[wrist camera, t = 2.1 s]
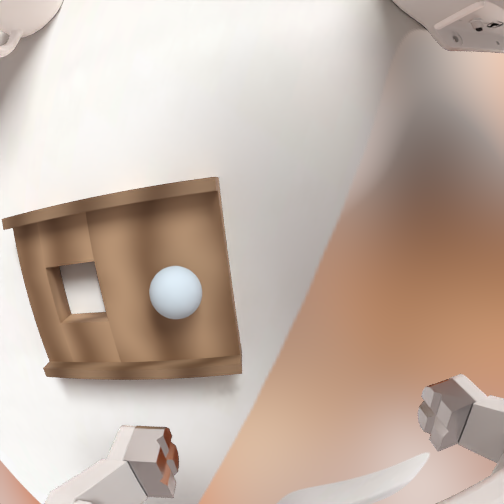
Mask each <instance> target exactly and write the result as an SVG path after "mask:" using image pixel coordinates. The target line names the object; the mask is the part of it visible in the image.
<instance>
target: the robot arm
mask: <svg viewBox="0 0 504 504" xmlns="http://www.w3.org/2000/svg"><path fill="white" fill-rule="evenodd" d="M392 1H393V2H394V3H395V4H396V5H398V6H399V7H400V8H401V9H402V10H403V11H404V12H406V13H407V14H408V15H410V16H411V17H412V18H414V19H415V20H417V21H418V22H419V23H421V24H422V25H423V26H424V27H425V28H426V29H427V30H428V31H429V32H430V34H431V35H432V36H433V37H434V39H435V40H436V41H437V42H438V44H439V45H440V46H442V47H443V48H444V49H446V50H448V51H478V52H495V53H504V0H392ZM454 40H455V41H454ZM422 398H423V400H424V401H423V402H422V404H421V405H420V406H419V410H418V421H419V424H420V427H421V428H422V430H423V431H424V432H427V433H429V434H430V439H429V440H430V441H431V443H432V444H433V445H434V447H435V448H436V450H437V451H441V450H443V449H446V448H448V447H450V446H453V445H455V444H459V445H460V446H462V447H464V448H466V449H468V450H471V451H473V452H475V453H477V454H479V455H481V456H483V457H485V458H487V459H490V460H492V461H494V462H496V463H497V465H496V467H495V469H494V470H493V472H492V474H491V475H490V476H489V477H487V478H485V479H484V480H482V481H480V482H478V483H477V484H475V485H473V486H471V487H469V488H467V489H465V490H463V491H461V492H460V493H457V494H455V495H453V496H451V497H449V498H447V499H445V500H443V501H441V502H438V503H436V504H504V399H503V398H499V397H495V396H488V397H487V396H486V395H485V394H484V393H483V392H482V391H481V390H480V389H479V388H478V387H477V386H476V385H475V384H473V383H472V382H471V381H470V380H469V379H468V378H467V377H466V376H465V375H463V374H459V375H457V376H454V377H451V378H449V379H446V380H444V381H441V382H438V383H436V384H432V385H429V386H427V387H425V388H424V390H423V392H422ZM171 438H172V435H171V432H170V430H169V428H167V427H149V426H127V425H122V426H121V427H120V428H119V430H118V433H117V435H116V437H115V440H114V442H113V444H112V447H111V449H110V452H109V454H108V456H107V459H101V460H100V461H98V462H97V463H95V464H93V465H92V466H90V467H89V468H87V469H86V470H84V471H83V472H81V473H80V474H78V475H76V476H75V477H73V478H72V479H70V480H68V481H67V482H65V483H64V484H62V485H60V486H59V487H57V488H55V489H54V490H52V491H50V493H49V495H48V497H47V499H46V501H45V503H44V504H142V503H143V502H144V501H145V500H146V499H147V497H167V498H174V492H175V486H176V481H175V478H174V475H175V474H176V473H177V472H178V468H179V456H178V451H177V448H176V445H174V444H173V443H172V442H171Z"/></svg>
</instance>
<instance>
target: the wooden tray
mask: <svg viewBox="0 0 504 504" xmlns="http://www.w3.org/2000/svg"><path fill="white" fill-rule="evenodd" d="M2 223H3V229H4V230H5V229H10V228H13V231H14V237H15V242H16V247H17V252H18V257H19V262H20V266H21V270H22V275H23V279H24V283H25V287H26V290H27V294H28V298H29V301H30V305H31V308H32V311H33V315H34V318H35V321H36V324H37V327H38V330H39V333H40V336H41V339H42V342H43V345H44V347H45V350H46V353H47V355H48V358H49V361H50V362H49V363H48V364H47V365H46V366H45V367H44V368H43V369H44V371H45V374H46V376H47V377H59V378H77V379H111V380H139V379H174V378H193V377H208V376H220V375H232V374H242V351H241V344H240V337H239V330H238V323H237V316H236V309H235V302H234V295H233V288H232V281H231V273H230V266H229V258H228V251H227V243H226V235H225V228H224V220H223V212H222V204H221V195H220V187H219V179H218V177H210V178H202V179H195V180H188V181H182V182H175V183H169V184H162V185H156V186H150V187H144V188H139V189H133V190H128V191H122V192H117V193H112V194H107V195H102V196H97V197H92V198H87V199H82V200H78V201H73V202H69V203H64V204H60V205H55V206H51V207H47V208H43V209H39V210H35V211H31V212H27V213H23V214H19V215H15V216H12V217H8V218H4V219H2ZM93 261H94V263H95V267H96V272H97V277H98V281H99V285H100V290H101V294H102V298H103V302H104V306H105V310H106V312H98V313H82V314H71V311H70V308H69V304H68V301H67V297H66V293H65V289H64V285H63V281H62V277H61V273H60V268H59V266H63V265H70V264H78V263H86V262H93ZM170 266H181V267H184V268H187V269H189V270H190V271H192V272H193V273H194V274H195V275H196V276H197V278H198V279H199V281H200V284H201V287H202V299H201V303H200V305H199V307H198V308H197V310H196V311H195V312H194V313H193V314H191V315H190V316H188V317H186V318H183V319H170V318H167V317H164V316H163V315H161V314H160V313H158V312H157V311H156V309H155V308H154V307H153V305H152V303H151V300H150V295H149V289H150V284H151V282H152V280H153V278H154V276H155V275H156V274H157V273H158V272H159V271H161V270H162V269H164V268H166V267H170Z"/></svg>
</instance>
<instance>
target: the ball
mask: <svg viewBox="0 0 504 504" xmlns="http://www.w3.org/2000/svg"><path fill="white" fill-rule="evenodd" d="M149 295H150V300H151V303H152V305H153V307H154V308H155V309H156V311H157V312H158V313H160V314H161V315H163V316H164V317H167V318H170V319H183V318H186V317H188V316H190V315H191V314H193V313H194V312H195V311H196V310H197V308H198V307H199V305H200V303H201V299H202V287H201V284H200V281H199V279H198V278H197V276H196V275H195V274H194V273H193V272H192V271H190V270H189V269H187V268H184V267H181V266H170V267H166V268H164V269H162V270H161V271H159V272H158V273H157V274H156V275H155V276H154V278H153V280H152V282H151V284H150V289H149Z"/></svg>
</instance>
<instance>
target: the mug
mask: <svg viewBox="0 0 504 504" xmlns="http://www.w3.org/2000/svg"><path fill="white" fill-rule="evenodd" d="M62 2H63V0H0V30H1V31H3V32H4V33H6V34H8V35H9V38H8V41H7V43H6V44H5V45H3V46H0V57H4V56H6V55H8V54H9V53H11V52H12V51H13V50H14V48H15V47H16V46H17V44H18V42H19V40H20V38H22V37H27V36H29V35H32V34H34V33H35V32H37V31H38V30H40V29H41V28H43V27H44V26H45V25H46V24H47V23H48V22H49V21H50V20H51V19H52V18H53V17H54V16H55V14H56V13H57V11H58V10H59V8H60V6H61V4H62Z"/></svg>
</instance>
